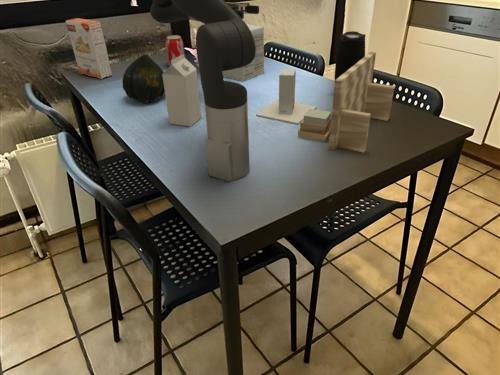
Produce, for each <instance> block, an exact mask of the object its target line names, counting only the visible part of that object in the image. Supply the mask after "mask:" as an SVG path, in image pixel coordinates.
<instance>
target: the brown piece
mask: <svg viewBox="0 0 500 375" xmlns="http://www.w3.org/2000/svg"><path fill="white" fill-rule="evenodd" d="M376 56H377V52H376V51H370V52H369V53H367V54H365V57H364V58H362V59H361V60H360V61H359V62H357V63H356V64H355V65H354V66H352V67H351V68H350V69H349V70H347V71H346V72H345V73H344V74H342V75H341V76H340V77H339V78H337V79H336V80H335V79H334V86H333V96H332V98H333V99H332V107H331V110H332V111H331V118H330V119H331V129H330V138H329V139H328V140H329V142H328V150H331V151H335V150H336V149H337V148H341V149H345V150H348V151H349V150H351V151H355V152H359V153H362V154H364V153H365V152H366V150H367V143H368V136H369V131H370V130H369V129H370V124H371V119H374V120H380V121H385V122H389V119H390V114H391V108H392V103H393V97H394V93H395V92H394V91H395V86H396V85H391V84H384V83H377V82H373V76H374V69H375V62H376Z"/></svg>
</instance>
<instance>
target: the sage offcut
mask: <svg viewBox="0 0 500 375" xmlns="http://www.w3.org/2000/svg"><path fill="white" fill-rule="evenodd" d="M331 118H332V111H327V110H320V109H315V110H314V109H309V110H308V111H307V112H306V114H305V115H304V122H303V123H309V124H315V125H322V126H326V124H327V123H328V122H329V120H330V119H331Z"/></svg>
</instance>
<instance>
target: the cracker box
mask: <svg viewBox="0 0 500 375" xmlns="http://www.w3.org/2000/svg"><path fill="white" fill-rule="evenodd" d="M65 24H66V28H67V32H68V35H69V39H70V43H71V47H72V49H73V50H72V51H73V53H74V57H75V58H74V59H75V61H76V66H77V69H78V72H79V74H80V73H82V74H86V75H89V76H93V77H97V78H104V77H106V76H109V75H112V76H113V72H112V69H111V63H110V59H109V55H108V50H107V44H106V41H105V37H104V32H103V26H102V23H101V21H100V20H99V21H98V20H94V19H93V20H91V19H85V18H79V17H77V18H71V19H66V20H65ZM82 74H81V75H82ZM89 76H88V77H89ZM93 77H92V78H93ZM97 78H96V79H97Z"/></svg>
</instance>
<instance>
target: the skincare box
mask: <svg viewBox="0 0 500 375" xmlns="http://www.w3.org/2000/svg"><path fill="white" fill-rule="evenodd" d="M296 72H297V71H296V69H291V68H290V69H289V68H283V69H281V71H280V73H279V76H278V77H279V78H278V80H279V81H278V100H279V113H281V114H292V112H293V109H294V103H296V101H295V97H296V78H297V77H296V75H297V74H296Z"/></svg>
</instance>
